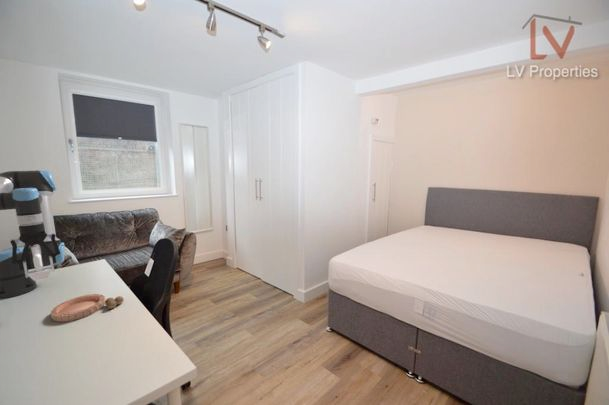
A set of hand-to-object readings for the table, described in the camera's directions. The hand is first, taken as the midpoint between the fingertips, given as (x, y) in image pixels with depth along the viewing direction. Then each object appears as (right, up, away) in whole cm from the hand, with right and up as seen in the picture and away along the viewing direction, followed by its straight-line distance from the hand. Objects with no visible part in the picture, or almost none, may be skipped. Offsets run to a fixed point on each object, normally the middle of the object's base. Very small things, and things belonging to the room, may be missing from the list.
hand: (40, 273), depth 115 cm
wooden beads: (+29, -16, +5) cm, 34 cm away
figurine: (0, -2, 0) cm, 2 cm away
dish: (+16, -17, +2) cm, 24 cm away
